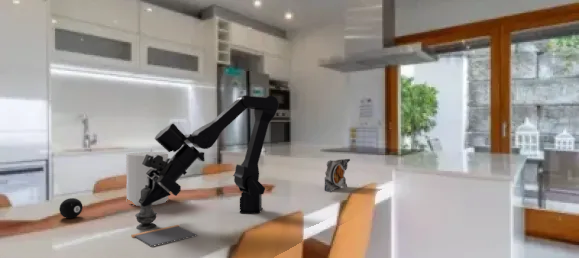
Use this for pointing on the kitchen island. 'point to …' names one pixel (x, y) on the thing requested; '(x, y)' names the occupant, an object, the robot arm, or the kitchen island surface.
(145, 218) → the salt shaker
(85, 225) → the kitchen island surface
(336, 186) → the grey square flange bearing
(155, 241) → the dough scraper
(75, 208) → the billiard ball
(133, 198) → the container
